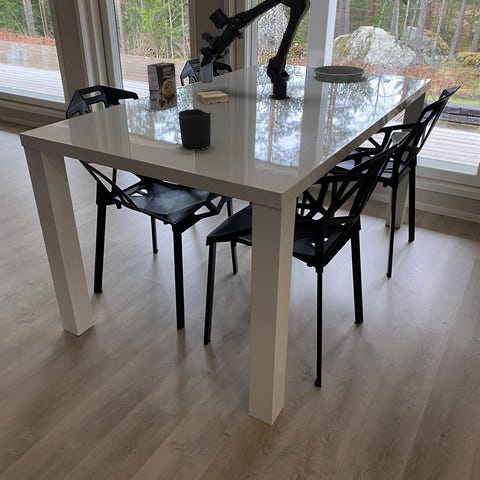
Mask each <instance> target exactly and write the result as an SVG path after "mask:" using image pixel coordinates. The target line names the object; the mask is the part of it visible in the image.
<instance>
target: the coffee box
mask: <svg viewBox="0 0 480 480" xmlns="http://www.w3.org/2000/svg"><path fill="white" fill-rule="evenodd" d="M146 68H147V69H146V71H147V82H148V93H149V104H150V106H149V107H150V108H151V109H154V110H159V111H164V110H167V109H171V108H175V107H177V106H178V93H177V80H176V79H177V78H176V64H175V63H173V62H164V61H163V62H158V63H152V64H147V65H146Z"/></svg>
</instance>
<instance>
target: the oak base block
mask: <svg viewBox="0 0 480 480" xmlns="http://www.w3.org/2000/svg"><path fill="white" fill-rule="evenodd" d="M196 100H197V101H199V102H201V103H202V104H204V105H210V103H212V104H218V103H217V102H221V103H227V101H228V102H229V94H227V93H224V92H222V91H220V90H213V91H211V90H210V91H202V92H196Z"/></svg>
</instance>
